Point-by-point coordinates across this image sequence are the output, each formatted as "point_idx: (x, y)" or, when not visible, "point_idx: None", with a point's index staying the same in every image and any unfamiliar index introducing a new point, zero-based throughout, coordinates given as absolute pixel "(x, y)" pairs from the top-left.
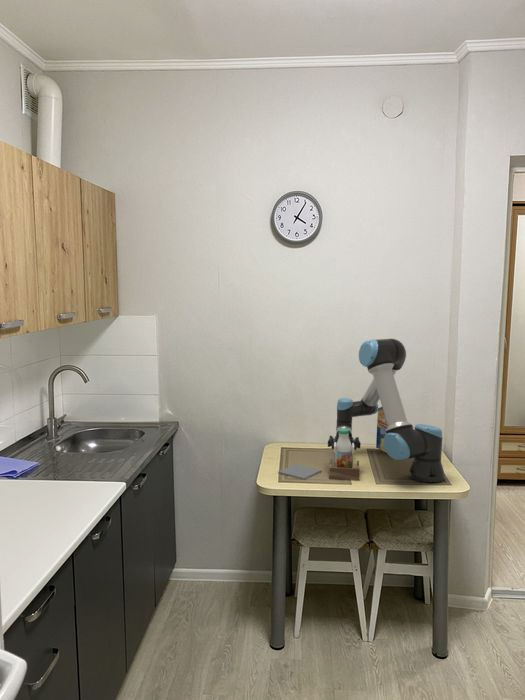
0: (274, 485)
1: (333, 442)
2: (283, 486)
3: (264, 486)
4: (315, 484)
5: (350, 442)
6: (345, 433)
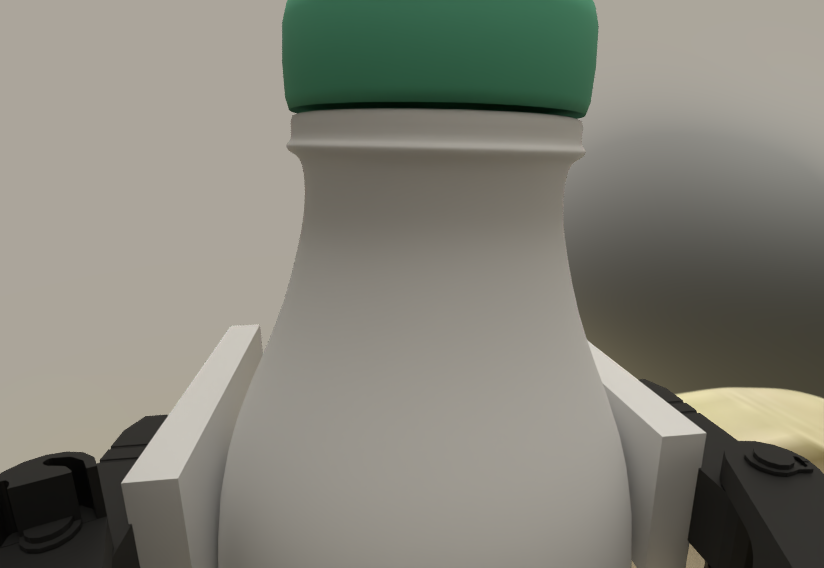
0: (777, 409)
1: (732, 449)
2: (721, 409)
3: (804, 394)
4: None
5: (260, 361)
6: (379, 102)
